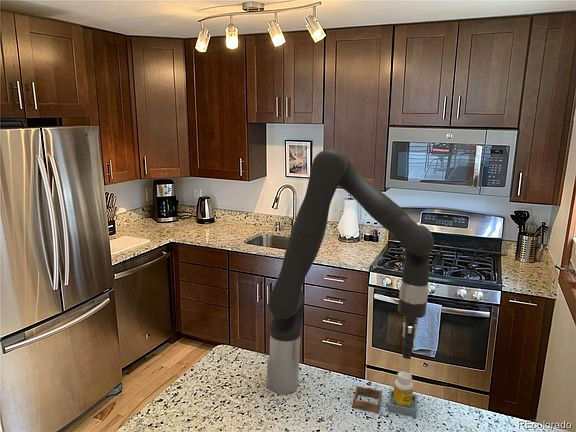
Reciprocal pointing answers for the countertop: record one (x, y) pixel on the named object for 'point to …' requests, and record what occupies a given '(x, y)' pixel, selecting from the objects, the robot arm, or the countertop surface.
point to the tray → (401, 409)
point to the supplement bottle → (403, 390)
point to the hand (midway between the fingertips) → (407, 350)
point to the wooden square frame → (363, 404)
